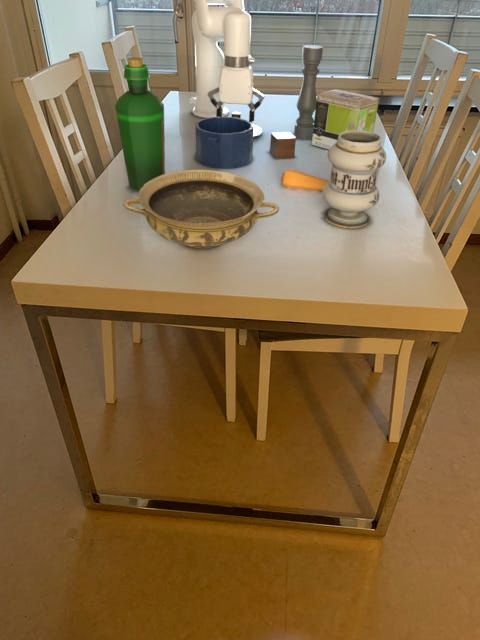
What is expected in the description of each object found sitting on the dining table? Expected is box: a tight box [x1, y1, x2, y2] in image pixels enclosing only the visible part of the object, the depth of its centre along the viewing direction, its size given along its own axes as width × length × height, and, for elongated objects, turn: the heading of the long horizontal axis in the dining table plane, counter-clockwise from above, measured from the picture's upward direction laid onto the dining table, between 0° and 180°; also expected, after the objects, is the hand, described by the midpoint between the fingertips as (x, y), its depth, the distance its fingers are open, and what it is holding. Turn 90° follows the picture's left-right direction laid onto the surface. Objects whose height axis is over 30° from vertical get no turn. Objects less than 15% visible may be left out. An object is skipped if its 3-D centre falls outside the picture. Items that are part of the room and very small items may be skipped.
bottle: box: [114, 56, 166, 193], centre depth 110 cm, size 11×11×28 cm
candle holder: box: [293, 44, 324, 140], centre depth 145 cm, size 6×6×25 cm
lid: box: [231, 111, 263, 139], centre depth 151 cm, size 17×17×6 cm
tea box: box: [311, 88, 380, 150], centre depth 140 cm, size 15×10×15 cm, turn 47°
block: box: [269, 131, 297, 160], centre depth 137 cm, size 6×6×6 cm
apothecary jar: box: [322, 130, 387, 229], centre depth 102 cm, size 12×12×18 cm
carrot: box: [280, 168, 330, 192], centre depth 119 cm, size 20×4×4 cm, turn 80°
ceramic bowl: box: [123, 169, 280, 249], centre depth 95 cm, size 30×24×10 cm
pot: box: [194, 116, 254, 169], centre depth 133 cm, size 16×21×9 cm
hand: (235, 122), depth 151 cm, fingers open, 9 cm apart
